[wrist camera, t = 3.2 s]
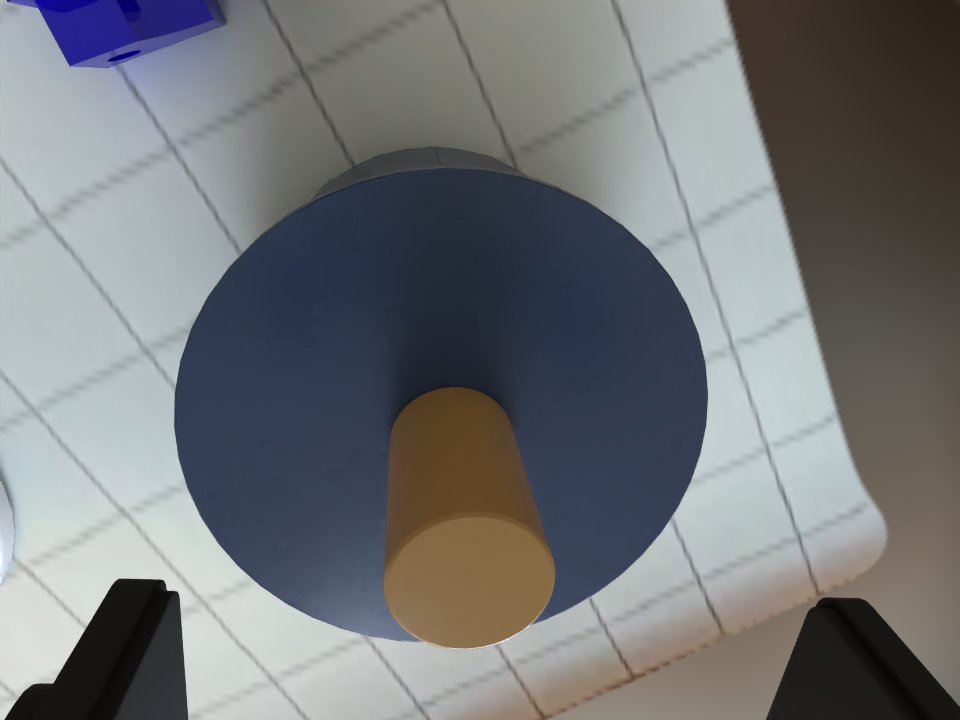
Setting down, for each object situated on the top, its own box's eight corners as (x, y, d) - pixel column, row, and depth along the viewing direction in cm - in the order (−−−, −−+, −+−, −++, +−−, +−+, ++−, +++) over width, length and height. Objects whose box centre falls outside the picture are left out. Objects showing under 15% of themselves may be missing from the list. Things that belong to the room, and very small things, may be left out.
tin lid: (269, 648, 19) (213, 882, 14) (109, 213, 14) (-86, 300, 9) (694, 566, 20) (809, 760, 14) (683, 118, 15) (857, 141, 9)
